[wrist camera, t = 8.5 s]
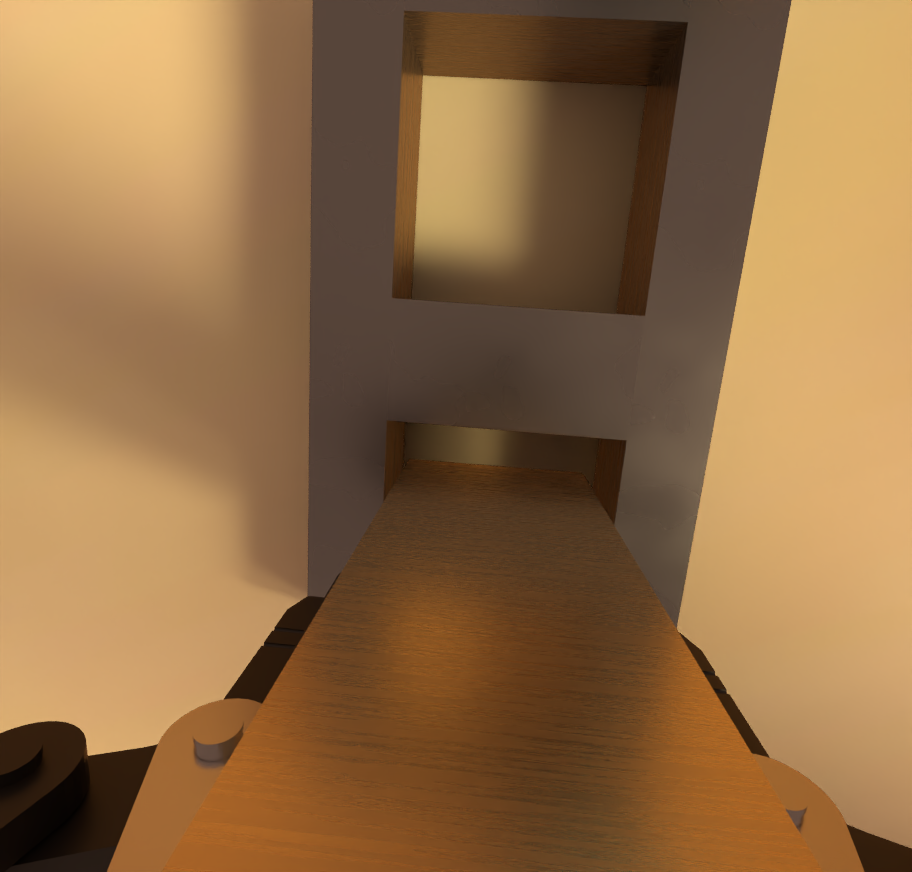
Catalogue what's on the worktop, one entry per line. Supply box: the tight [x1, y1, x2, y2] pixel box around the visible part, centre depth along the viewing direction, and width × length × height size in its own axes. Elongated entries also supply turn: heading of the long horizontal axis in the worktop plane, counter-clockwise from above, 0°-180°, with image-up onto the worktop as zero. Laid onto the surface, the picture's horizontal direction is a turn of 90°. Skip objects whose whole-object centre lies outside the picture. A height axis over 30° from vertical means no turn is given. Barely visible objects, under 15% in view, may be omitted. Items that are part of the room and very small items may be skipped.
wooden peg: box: [162, 459, 823, 872], centre depth 8 cm, size 4×4×11 cm
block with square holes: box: [308, 0, 791, 628], centre depth 14 cm, size 10×18×3 cm, turn 176°
